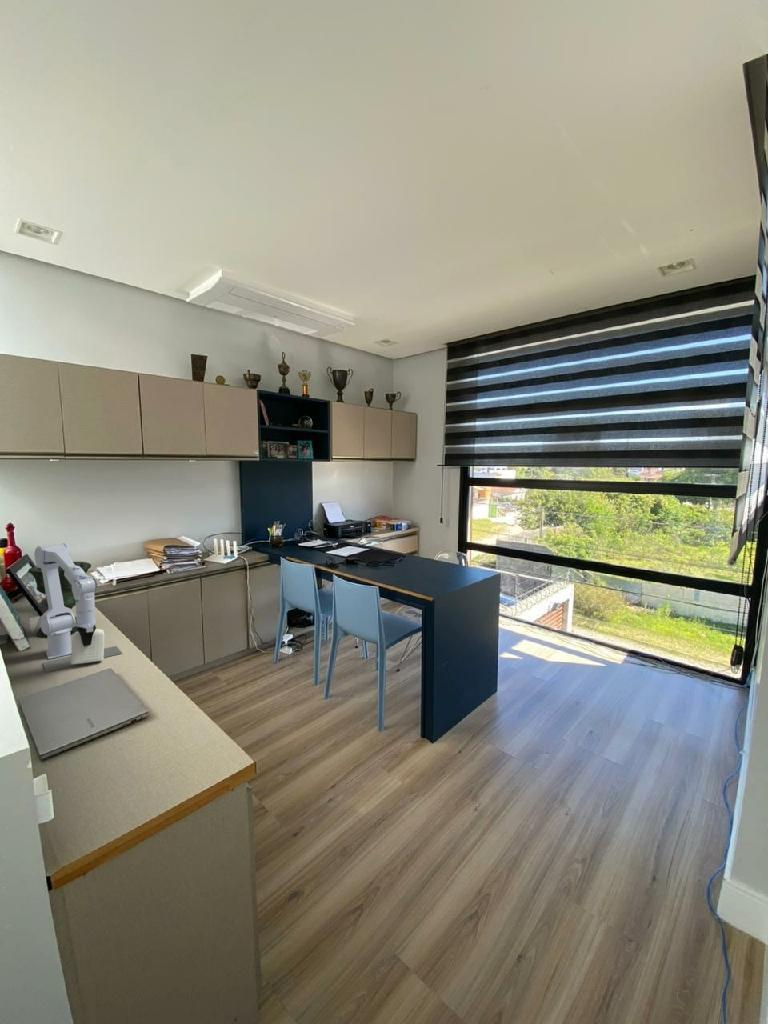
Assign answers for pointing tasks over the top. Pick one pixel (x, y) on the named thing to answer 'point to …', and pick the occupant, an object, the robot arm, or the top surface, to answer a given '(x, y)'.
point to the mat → (67, 663)
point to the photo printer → (88, 648)
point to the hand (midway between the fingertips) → (86, 645)
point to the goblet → (65, 588)
